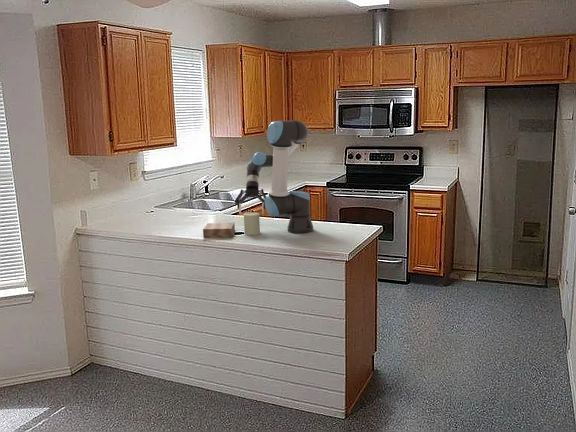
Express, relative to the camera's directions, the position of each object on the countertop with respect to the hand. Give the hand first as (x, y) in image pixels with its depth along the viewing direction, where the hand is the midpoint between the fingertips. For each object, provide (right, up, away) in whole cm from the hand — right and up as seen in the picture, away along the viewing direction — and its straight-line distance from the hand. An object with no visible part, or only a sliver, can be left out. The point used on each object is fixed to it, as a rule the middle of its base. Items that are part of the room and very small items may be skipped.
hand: (251, 212), depth 330 cm
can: (+1, -12, -4) cm, 13 cm away
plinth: (-18, -12, -4) cm, 22 cm away
